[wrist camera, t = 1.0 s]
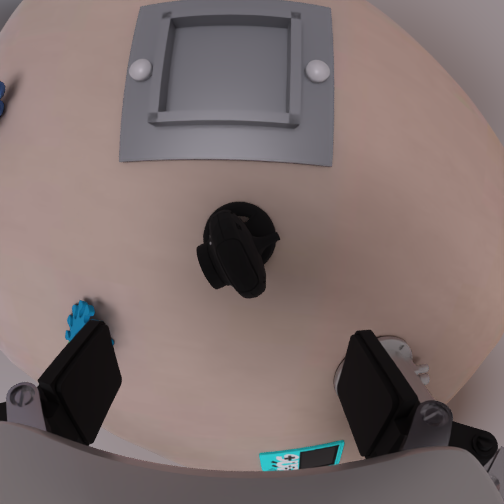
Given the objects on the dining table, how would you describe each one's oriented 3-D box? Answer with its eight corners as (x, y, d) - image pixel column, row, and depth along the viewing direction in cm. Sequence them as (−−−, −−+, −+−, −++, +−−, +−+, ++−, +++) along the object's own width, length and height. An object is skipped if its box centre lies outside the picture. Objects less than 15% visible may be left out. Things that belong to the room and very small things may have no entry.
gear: (84, 284, 29) (97, 364, 24) (122, 293, 33) (140, 365, 28) (56, 322, 32) (66, 388, 27) (89, 327, 37) (102, 388, 32)
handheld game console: (258, 450, 41) (259, 455, 40) (344, 436, 41) (345, 442, 39) (262, 471, 44) (263, 476, 42) (338, 460, 44) (339, 465, 42)
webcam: (191, 219, 29) (166, 242, 19) (256, 188, 28) (263, 196, 18) (224, 282, 31) (215, 330, 21) (286, 254, 30) (305, 293, 20)
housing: (328, 11, 22) (336, -3, 18) (329, 166, 27) (340, 166, 24) (143, 10, 21) (133, -3, 18) (122, 162, 26) (108, 161, 23)
